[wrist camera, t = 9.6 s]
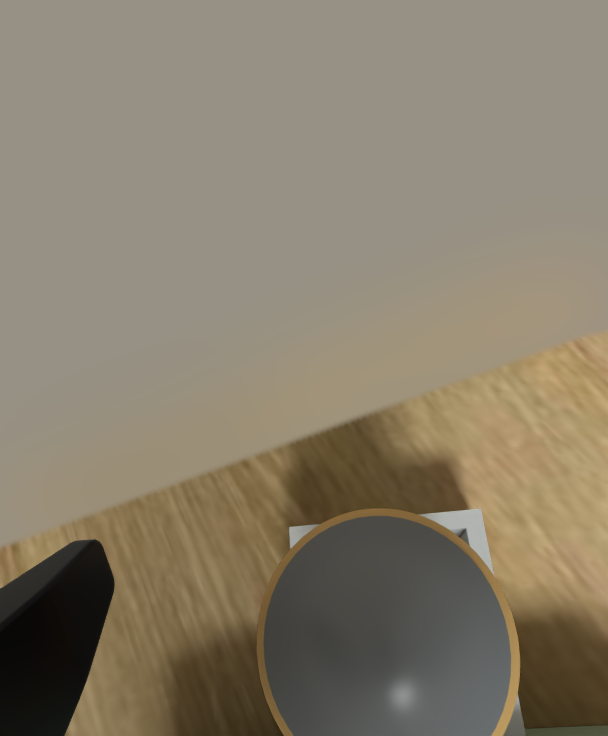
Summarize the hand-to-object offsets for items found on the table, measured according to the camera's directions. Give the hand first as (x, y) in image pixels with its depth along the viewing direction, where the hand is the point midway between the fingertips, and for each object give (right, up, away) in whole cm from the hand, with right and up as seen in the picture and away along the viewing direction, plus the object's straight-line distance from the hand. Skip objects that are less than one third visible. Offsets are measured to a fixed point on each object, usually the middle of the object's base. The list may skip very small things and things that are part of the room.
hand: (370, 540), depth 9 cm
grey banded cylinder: (+2, -7, +12) cm, 14 cm away
